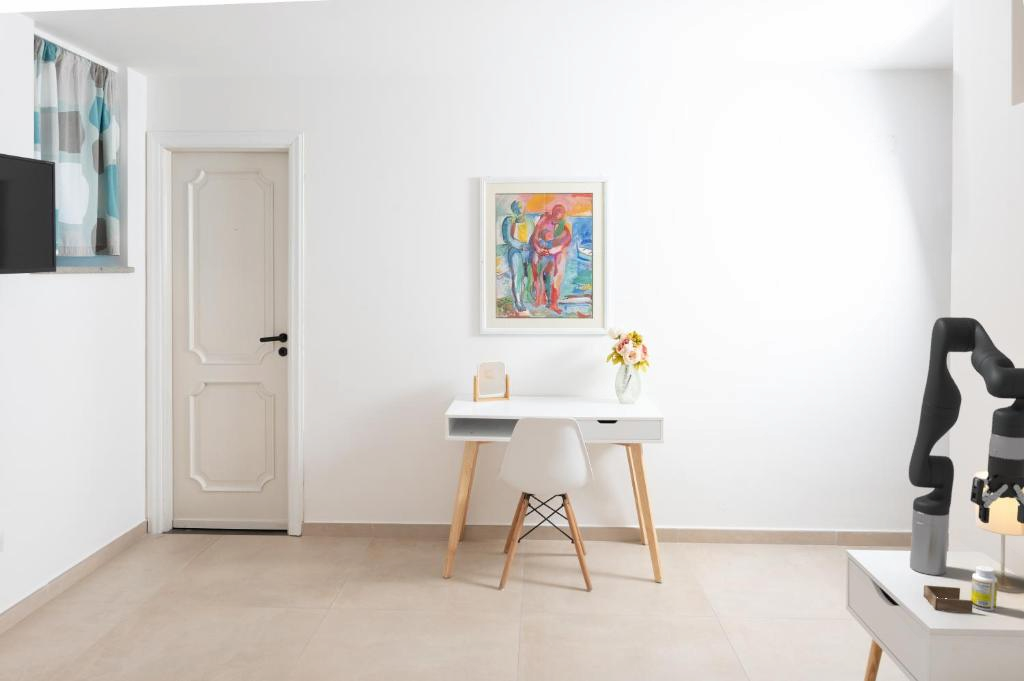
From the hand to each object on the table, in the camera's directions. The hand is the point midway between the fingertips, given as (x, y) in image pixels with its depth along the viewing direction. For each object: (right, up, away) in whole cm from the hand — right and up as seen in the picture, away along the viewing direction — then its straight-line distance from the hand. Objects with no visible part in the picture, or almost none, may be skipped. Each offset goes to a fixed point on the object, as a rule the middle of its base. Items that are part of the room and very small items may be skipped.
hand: (1002, 522), depth 182 cm
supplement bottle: (+7, -26, +19) cm, 33 cm away
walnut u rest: (-2, -26, +20) cm, 33 cm away
